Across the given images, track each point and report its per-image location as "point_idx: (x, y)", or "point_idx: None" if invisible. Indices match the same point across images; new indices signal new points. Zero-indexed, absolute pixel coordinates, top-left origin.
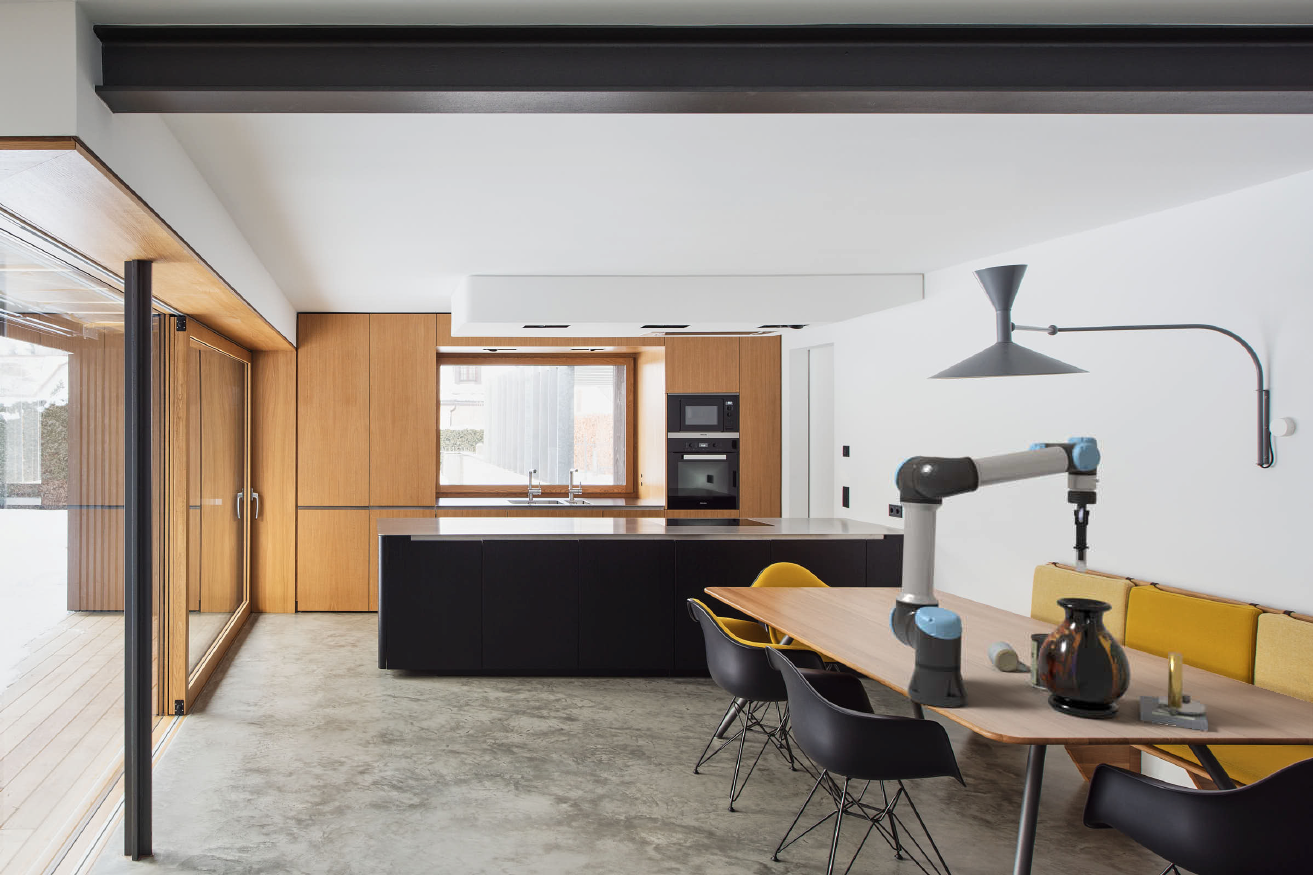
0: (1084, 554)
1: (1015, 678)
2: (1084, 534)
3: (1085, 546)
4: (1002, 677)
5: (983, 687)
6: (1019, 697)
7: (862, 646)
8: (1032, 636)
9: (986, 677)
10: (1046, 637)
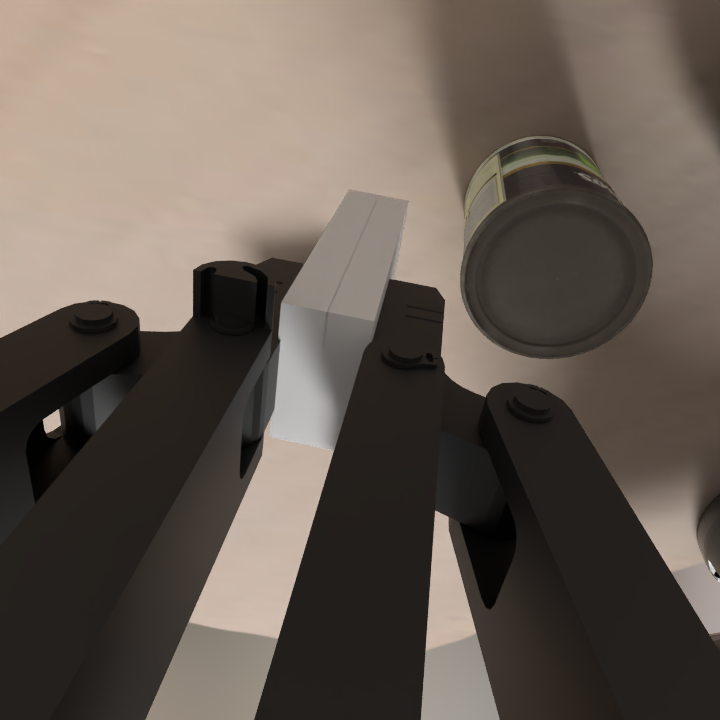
0: (381, 306)
1: (453, 308)
2: (706, 665)
3: (532, 398)
4: (457, 345)
5: (613, 409)
6: (717, 322)
7: (260, 633)
8: (562, 356)
9: (477, 390)
10: (550, 296)
